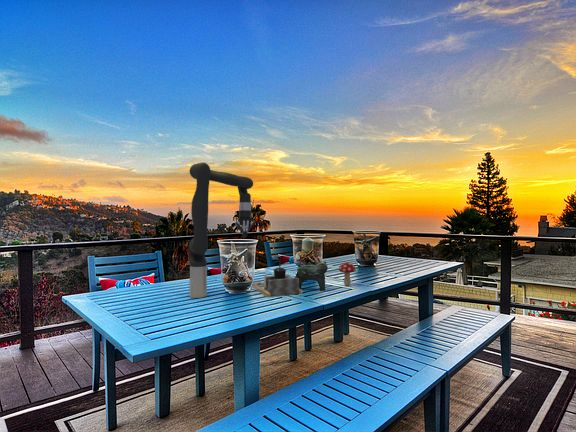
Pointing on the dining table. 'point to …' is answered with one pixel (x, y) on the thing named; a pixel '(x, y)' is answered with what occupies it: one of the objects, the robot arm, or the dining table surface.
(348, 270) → the decorative mushroom
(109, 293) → the dining table surface
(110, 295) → the dining table surface
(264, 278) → the sliding jaw
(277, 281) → the vise frame
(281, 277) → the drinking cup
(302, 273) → the dark green legged piece
